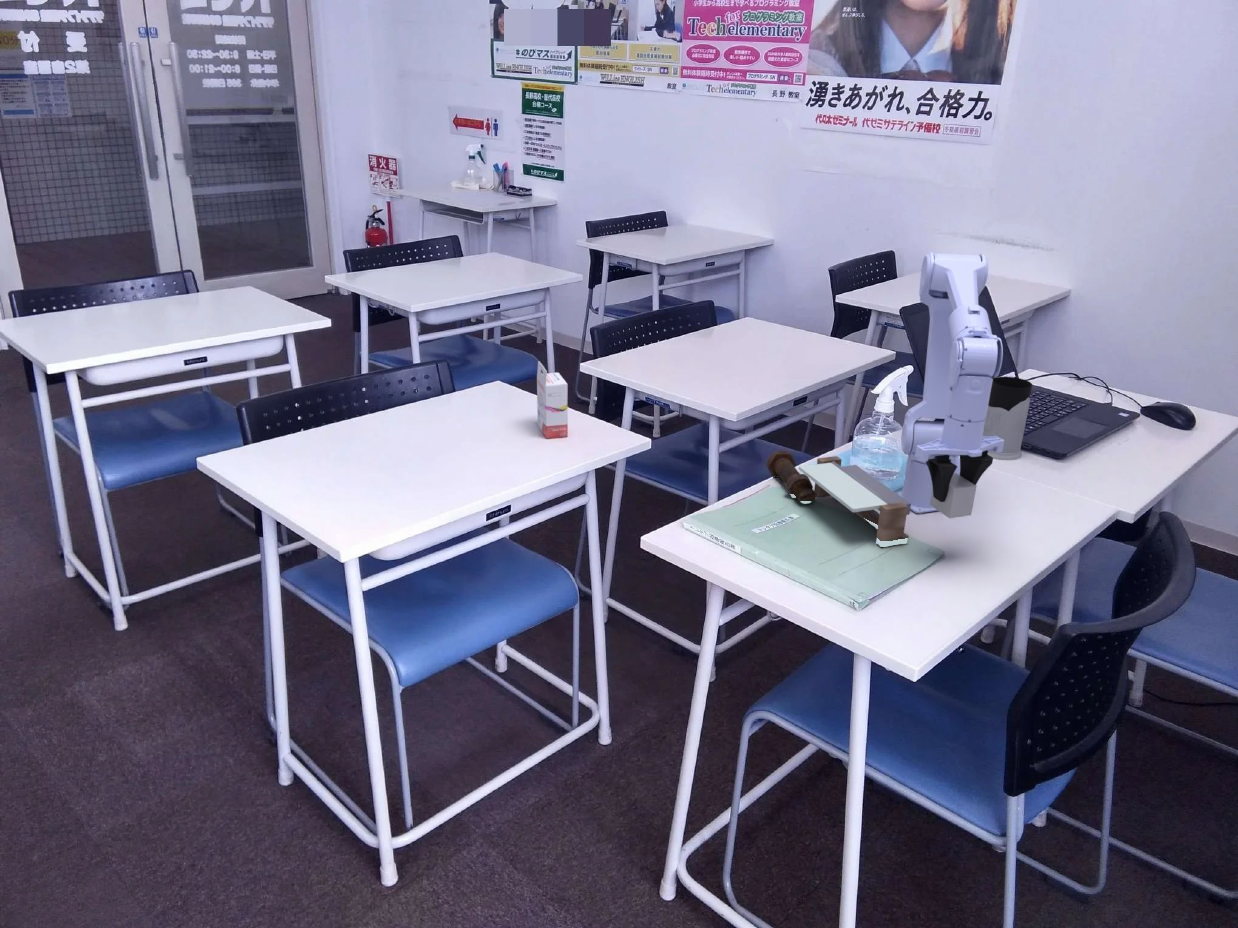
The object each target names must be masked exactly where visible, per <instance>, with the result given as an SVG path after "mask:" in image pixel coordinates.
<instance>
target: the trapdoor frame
mask: <svg viewBox="0 0 1238 928" xmlns="http://www.w3.org/2000/svg"><path fill="white" fill-rule="evenodd" d="M833 461H834V462H836V463H837V464H838V465H840V466H841V467H842V458H840V457H839V456H837V455H835V456H827V457H819V458H817V460H816V464H824V463H831V462H833ZM813 488H814V489H813V490H814V491H815V493H816V498H821V497H829V496H831V495H830V494H829V493H828V492H826V491H825V490H824V489H823V488H821V487H820V486H819V485H818V484H816V483H815V482H814V486H813ZM907 509H908V506H906V505H905V504H904V503H902V502H901V503H894V504H887V505H881V508H880V511H879V512H878V511H876V509H874V510H867V511H860V512H854V514H856V515H857V516H858V515H859V516H858V517H860V516H861V517H862V518H865V519H867V520H869V521H871V522H873V523H875V524H877V525H878V529H877V530H876V537H875V539H876V538H878V539H879V540H880V541H893V540H898V539H905V538H908V539H909V535H908V534H906V532H905V527H906V520H907V516H908V515H907ZM861 517H860V518H861ZM862 518H861V519H862Z"/></svg>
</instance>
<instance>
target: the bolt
mask: <svg viewBox="0 0 1238 928" xmlns="http://www.w3.org/2000/svg"><path fill="white" fill-rule="evenodd" d="M765 466H766V468H767V469H768V471H769V473H770V475H771V477H773V478H777V476H780V477H779V478H780V479H781V481H783V483H784V484H785V485H784V487H785V489H786V491H787V493H788V495H789V494H794V495H795V496H796V498H797V499H796V500H797V501H798V502H799V501H813V502H814V501H815V500H816V498H817V496H816V493H815V491H814V489H813V488H814V485H813V484H812V482H811V479H810V478H809V477H807V476H806V475H805V474H804V473H801V472H799V470H797V469H796V467H797V462H796V461H795V459H794V457H793V455H792V452H791V451H790V450H783V449H782V450H775V451H773V452H772V453H771V454H770V456H769V457H768V458H767V460H766V462H765Z"/></svg>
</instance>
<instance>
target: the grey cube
mask: <svg viewBox="0 0 1238 928" xmlns="http://www.w3.org/2000/svg"><path fill="white" fill-rule="evenodd" d="M976 491H977V484H976V485H974V484H973V483H971V482H969V481H968V480H966V479H965V478H963V477H961V476H960V475H958V474H957V473H954V474H953V476H952V478H951V481H950V484H949V489H948V494H947V497H946V500H945V502H940V501H939V500H937V499H936V498H934V497H933V488H932V494H931V500H930V505H931V506H932V507H934V508H935V509H937V510H938V511H937V512H939V513H941V514H942V515H944V516H945V517H947V518H948V519H955V518H962V517H967V516H972V512H973V507H974V503H975V502H974V501H975V495H976Z"/></svg>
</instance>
